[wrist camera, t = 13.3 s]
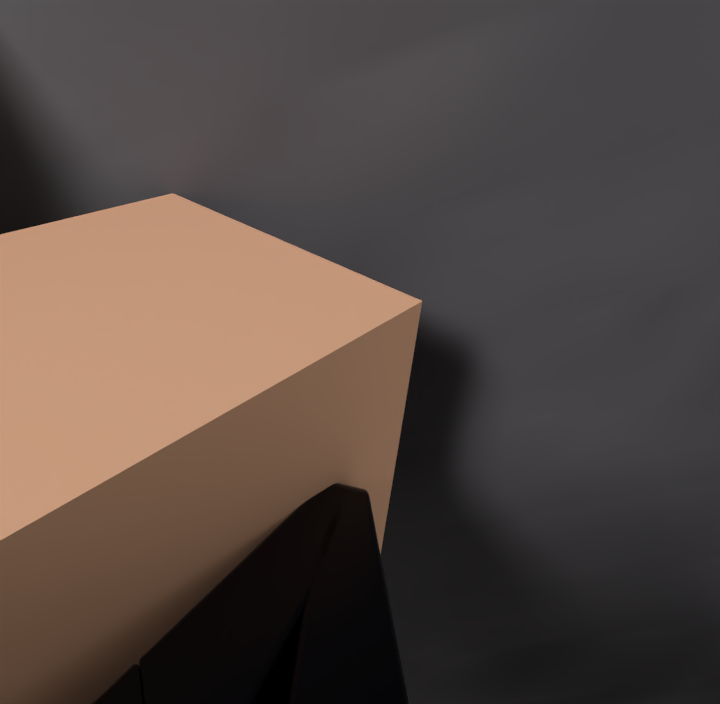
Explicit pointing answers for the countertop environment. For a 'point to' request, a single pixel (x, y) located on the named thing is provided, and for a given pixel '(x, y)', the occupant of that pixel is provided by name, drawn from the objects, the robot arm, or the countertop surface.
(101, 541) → the doorstop block
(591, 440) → the countertop surface
